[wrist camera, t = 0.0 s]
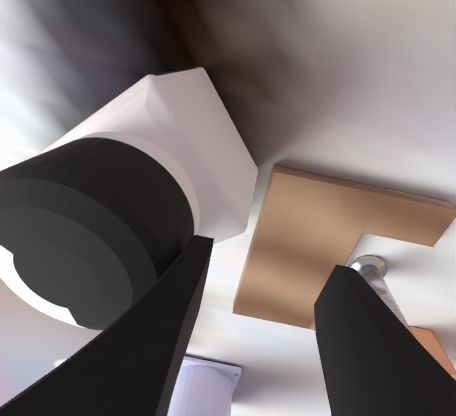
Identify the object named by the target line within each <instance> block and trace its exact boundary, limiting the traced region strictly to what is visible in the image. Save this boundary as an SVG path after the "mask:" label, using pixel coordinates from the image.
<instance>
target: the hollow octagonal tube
mask: <svg viewBox="0 0 456 416" xmlns="http://www.w3.org/2000/svg"><path fill="white" fill-rule="evenodd" d="M409 331H410V332H411V333H412V335H413V336H414V337H415V338H416V339H417V340H418V341H419V342H420V343H421V344H422V346H423V347H424V348H425V349H426V350H427V351H428V352H429V353H430V354H431V355H432V356H433V357H434V358H435V359H436V360H437V361H438V362H439V364H440V365H441V366H442V367H443V368H444V369H445V370H446V371H447V372H448V373H449V374H450V375H451V376H452V377H453V378H454V379H455V380H456V370H455V369H454V367H453V365H452V364H451V362H450V360H449V359H448V357H447V355H446V354H445V352H444V350H443V349H442V347H441V345H440V344H439V342H438V340H437V339H436V337H435V335H434V334H433V332H432V331H431V330H426V329H421V328H416V327H411V326H409Z"/></svg>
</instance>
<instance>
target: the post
mask: <svg viewBox="0 0 456 416" xmlns="http://www.w3.org/2000/svg"><path fill="white" fill-rule="evenodd" d="M349 267H351V268H355V269H356V270H357V271H358V273H359V274H360V275H361V276H362V277H363V278H364V279H365V280H366V281H367V283H368V284H369V285H370V286H371V287H372V288H373V290H374V291H375V292H376V293H377V294H378V295H379V297H380V298H381V299H382V300H383V301H384V303H385V304H386V305H387V306H388V307H389V308H390V310H391V311H392V312H393V313H394V314H395V315H396V316H397V318H398V319H399V320H400V321H401V322H402V323H403V324H404V326H405V327H406V328H407V329H408V330H409V326H408V324H407V322H406V321H405V319H404V317H403V315H402V313H401V311H400V309H399V307H398V305H397V303H396V302H395V300H394V298H393V296H392V294H391V292H390V290H389V288H388V286H387V285H386V283H385V281H384V279H383V277H384V276H385V274H386V271H387V268H386V265H385V263H384V262H383V260H382V259H380V258H378V257H376V256H363V257H360V258H357V259H355V260H354V261H353V262H352V263H351V264H350V265H349Z"/></svg>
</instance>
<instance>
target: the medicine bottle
mask: <svg viewBox="0 0 456 416" xmlns="http://www.w3.org/2000/svg"><path fill="white" fill-rule="evenodd" d="M257 175H258V169H257V167H256V165H255V163H254V161H253V159H252V158H251V156H250V154H249V152H248V150H247V148H246V146H245V144H244V142H243V141H242V139H241V137H240V135H239V133H238V131H237V129H236V127H235V126H234V124H233V122H232V120H231V118H230V116H229V114H228V112H227V110H226V109H225V107H224V105H223V103H222V101H221V99H220V97H219V95H218V93H217V92H216V90H215V88H214V86H213V84H212V82H211V80H210V78H209V77H208V75H207V73H206V71H205V70H204V68H203V67H200V66H198V67H192V68H186V69H180V70H174V71H168V72H162V73H156V74H151V75H147V76H145V77H144V78H143V79H141V80H140V81H139V82H137V83H136V84H134V85H133V86H132V87H130V88H129V89H128V90H126V91H125V92H123V93H122V94H121V95H119V96H118V97H116V98H115V99H114V100H112V101H111V102H110V103H108V104H107V105H105V106H104V107H103V108H101V109H100V110H99V111H97V112H96V113H94V114H93V115H92V116H90V117H89V118H87V119H86V120H85V121H83V122H82V123H81V124H79V125H78V126H76V127H75V128H74V129H72V130H71V131H70V132H68V133H67V134H65V135H64V136H63V137H61V138H60V139H58V140H57V141H56V142H54V143H53V144H52V145H50V146H49V147H47V148H46V149H45V150H43V151H42V152H41V153H39V154H38V155H37V156H35V157H33V158H30V159H28V160H26V161H23V162H21V163H19V164H16V165H14V166H11V167H9V168H7V169H5V170H2V171H0V278H1V279H2V280H3V281H4V282H5V283H6V284H7V285H8V287H9V288H10V289H11V290H13V291H14V292H15V293H16V294H17V295H18V296H19V297H20V298H22V299H23V300H24V301H26V302H27V303H29V304H30V305H31V306H33V307H34V308H36V309H38V310H39V311H41V312H43V313H45V314H47V315H49V316H51V317H53V318H56V319H58V320H61V321H64V322H66V323H69V324H72V325H75V326H79V327H83V328H88V329H94V330H105V329H106V328H107V327H108V326H110V325H111V324H112V323H113V322H114V321H115V320H117V319H118V318H119V317H120V316H121V315H122V314H123V313H124V312H126V311H127V310H128V309H129V308H130V307H131V306H132V305H133V304H134V303H135V302H136V301H137V300H138V299H139V298H140V297H141V296H142V295H143V294H144V293H145V292H146V291H147V290H148V289H149V288H150V287H151V286H152V285H153V284H154V283H155V282H156V281H157V280H158V279H159V278H160V277H161V276H162V275H163V273H164V272H165V271H166V270H167V269H168V268H169V267H170V266H171V264H172V263H173V262H174V261H175V260H176V258H177V257H178V256H179V255H180V253H181V252H182V251H183V249H184V248H185V247H186V245H187V244H188V242H189V241H190V239H191V237H192V236H194V235H200V236H205V237H209V238H214V242H213V244H215V243H217V242H220V241H223V240H226V239H228V238H231V237H234V236H236V235H239V234H242V233H243V232H244V231H245V230H246V227H247V223H248V219H249V214H250V209H251V204H252V199H253V194H254V189H255V184H256V180H257Z"/></svg>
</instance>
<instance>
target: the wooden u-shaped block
mask: <svg viewBox="0 0 456 416" xmlns="http://www.w3.org/2000/svg"><path fill="white" fill-rule="evenodd" d="M455 217H456V207H455V206H454V205H453V204H451V203H450V202H448V201H444V200H439V199H434V198H429V197H425V196H420V195H415V194H410V193H406V192H401V191H396V190H391V189H387V188H382V187H377V186H372V185H368V184H363V183H358V182H353V181H349V180H344V179H339V178H334V177H330V176H325V175H320V174H315V173H310V172H306V171H301V170H296V169H291V168H287V167H282V166H277V165H274V166H273V169H272V173H271V176H270V179H269V183H268V186H267V190H266V193H265V197H264V200H263V204H262V207H261V210H260V214H259V217H258V221H257V224H256V228H255V231H254V234H253V238H252V241H251V245H250V248H249V252H248V255H247V259H246V262H245V265H244V269H243V272H242V276H241V279H240V283H239V286H238V289H237V293H236V296H235V300H234V305H233V313H234V314H239V315H244V316H249V317H253V318H258V319H263V320H268V321H273V322H278V323H283V324H288V325H293V326H298V327H302V328H307V329H312V330H315V317H314V304H315V302H316V300H317V298H318V296H319V294H320V293H321V291H322V289H323V287H324V285H325V284H326V282H327V280H328V278H329V276H330V274H331V273H332V271H333V269H334V267H335V265H336V264H337V265H342V266H344V265H345V263H346V261H347V259H348V258H349V256H350V254H351V252H352V250H353V249H354V247H355V245H356V243H357V241H358V240H359V238H360V236H361V234H362V232H363V233H368V234H373V235H378V236H382V237H387V238H392V239H397V240H402V241H406V242H411V243H416V244H421V245H426V246H430V247H434V245H435V244H436V243H437V241H438V240H439V239H440V237H441V236H442V235H443V233H444V232H445V231H446V229H447V228H448V227H449V225H450V224H451V223H452V221H453V220H454V219H455Z"/></svg>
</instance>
